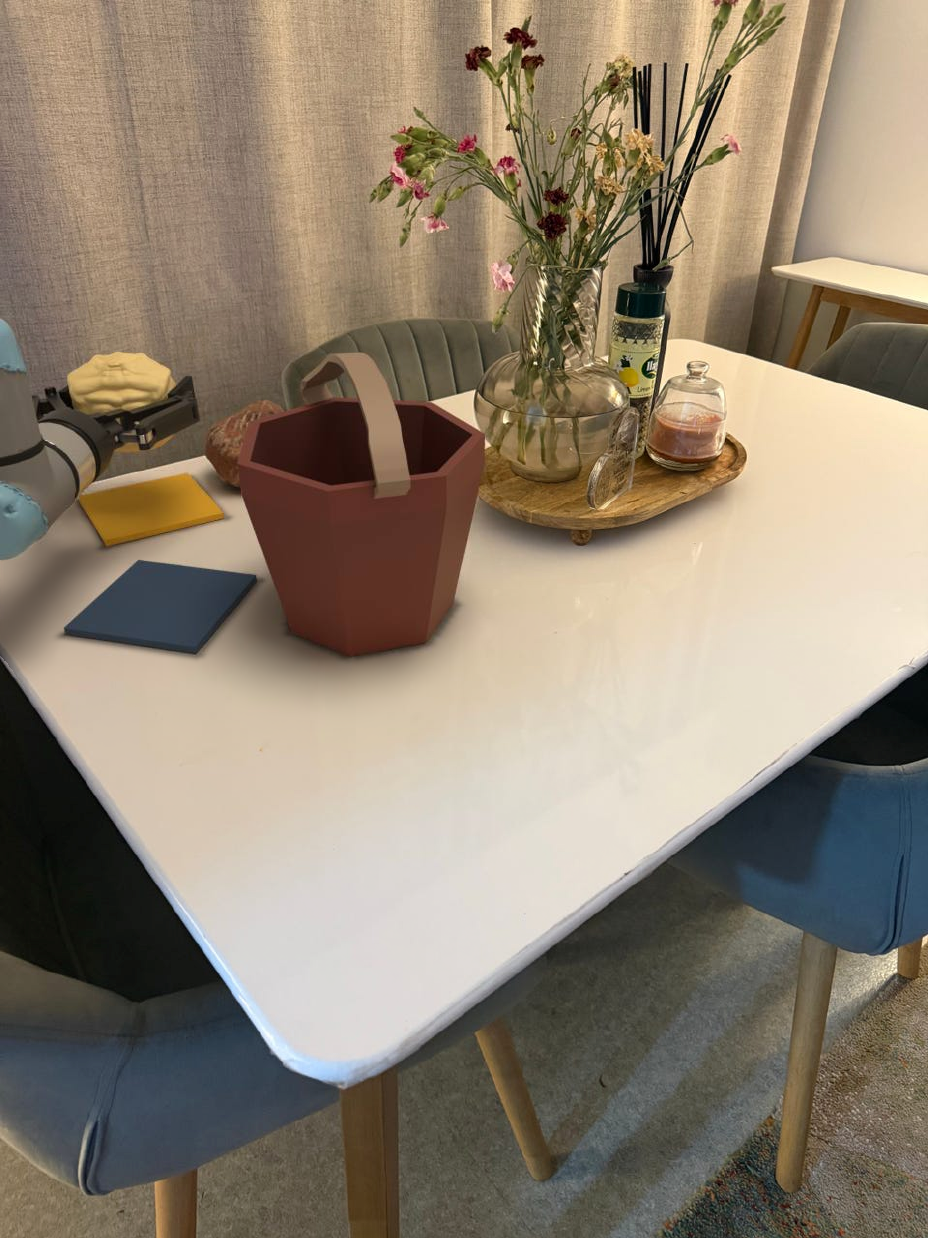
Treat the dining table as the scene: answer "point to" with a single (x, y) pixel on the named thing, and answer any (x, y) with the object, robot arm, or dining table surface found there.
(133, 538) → the yellow mat
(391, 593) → the bucket
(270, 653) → the dining table surface
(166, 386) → the sculpture
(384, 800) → the dining table surface
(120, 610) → the blue mat
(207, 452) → the decorative rock
